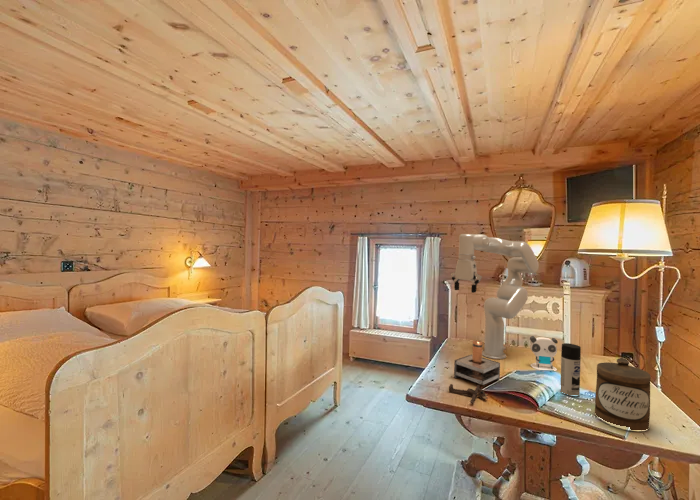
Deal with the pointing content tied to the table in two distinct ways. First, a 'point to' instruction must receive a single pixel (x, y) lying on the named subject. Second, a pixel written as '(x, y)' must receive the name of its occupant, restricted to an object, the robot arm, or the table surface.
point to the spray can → (570, 369)
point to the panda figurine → (543, 352)
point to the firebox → (487, 369)
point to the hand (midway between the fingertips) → (465, 291)
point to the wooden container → (623, 394)
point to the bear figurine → (469, 392)
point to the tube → (477, 355)
